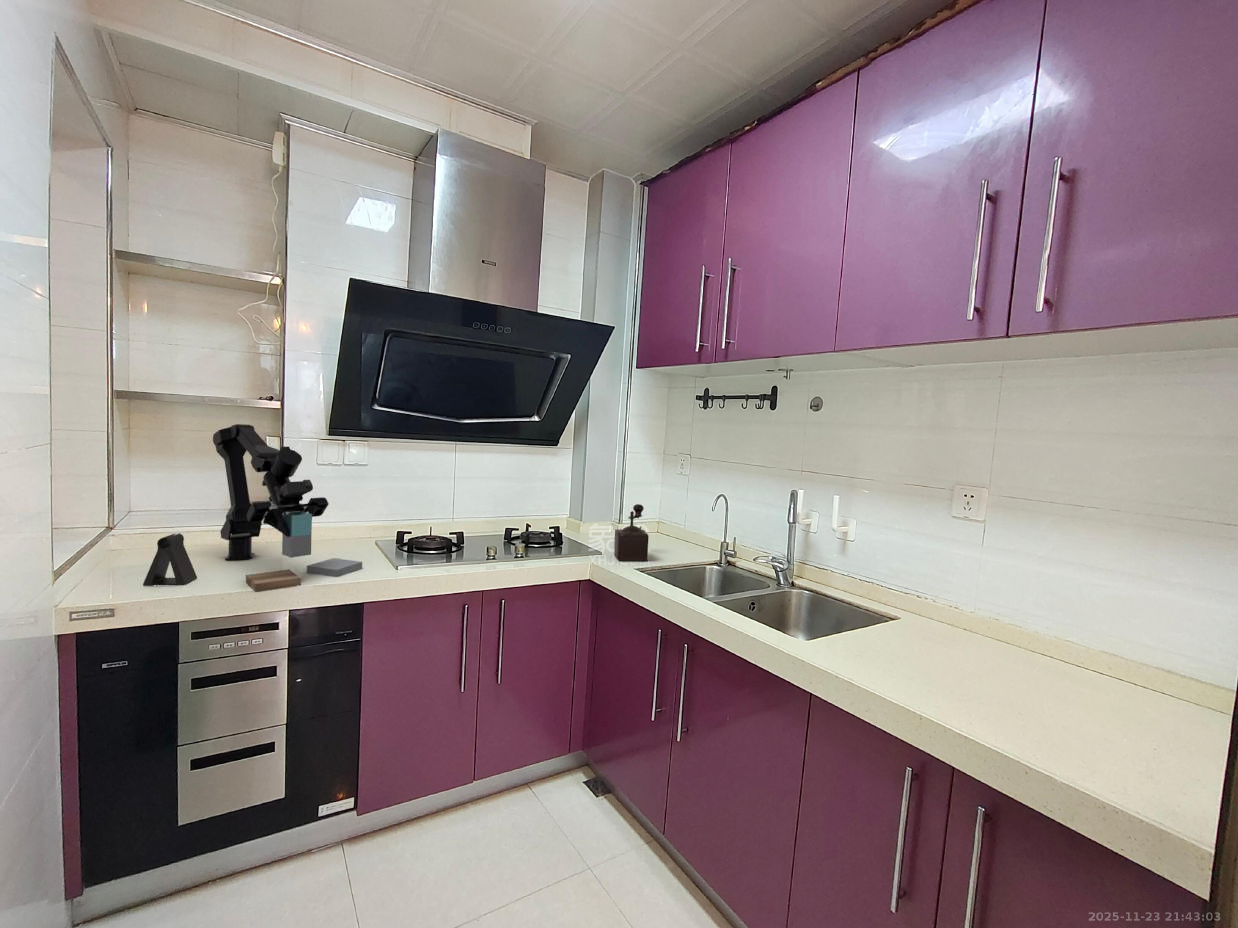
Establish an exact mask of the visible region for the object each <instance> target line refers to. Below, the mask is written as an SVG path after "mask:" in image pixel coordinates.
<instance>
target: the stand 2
mask: <svg viewBox="0 0 1238 928" xmlns="http://www.w3.org/2000/svg"><path fill="white" fill-rule="evenodd" d="M361 569H363V561H359V560H353V559H352V560H351V559H343V558H335V557H332V558H329V559H326V560H322V561H319V562H315V563H312V564H308V565H306V574H313V575H319V576H320V575H321V576H327V577H334V578H335V577H336V578H337V577H341V576H345V575H347V574H350V573H353V572H356V571H359V570H361Z"/></svg>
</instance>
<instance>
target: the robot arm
mask: <svg viewBox="0 0 1238 928" xmlns="http://www.w3.org/2000/svg"><path fill="white" fill-rule="evenodd" d="M212 442H213V445H214V447H215V449H216V453H217V454H218V455H219V456H220V457H221V458H222V459H223V461H224V465H225V474H226V480H227V481H226V482H227V488H228V495H229V501H230V502H229V503H230V508H229V509H228V511H227V513H226V515H225V521H224V524H222V525H223V526H222V527H221V529H220V531H219V532H220V538H221V539H223V540H225V541H228V555H227V556H226V557H225V558H224V560H225V561H235V560H236V561H237V560H252V559H253V557H254V556H255V552H253V551H252V549H253V546H252V545H253V544H252V540H253V539H252V538H254V537H255V538H258V537H260V534H261V529H262V524H264V525H269V526H271V527H272V528H273V529H276V530H277V531H278V532H279V533H281V534H282V533H283V534H284V535H285V536H287V537H289V536H290V532H289V529H288V527H287V524H286V522H285V520H284V518H283V513H286V512H289V513H291V512H302V511H303V512H309V513H310V514H312V518H313V517H320V516H322V515H323V514H324V513H325V511H326V509H327V508H328V506H329V505H330V504H329V502H328V499H327V498H326V497H324V496H321V497H311V498H310V499H309V500H308V501H307V503H300V502H302V501H303V499H304V497H303V496H304V495H306V494H308V493H310V492H312V491H313V490H314V486H313V483H312V481H311V479H302V480H300V481H298V480H297V481H291V480H290V478H291V477H293V476H294V475H295V473H297V472H296V471H297V470H298V468H299V466H300V464H301V462H302V461H303V458H302V455H301V454H300V453H298V452H297V450H293V449H291V448H290V446H281V447H280V449H278V448H274V447H273V446H269V445H268V444H267V443H266V442H265V440H263V438H262V437H261V436H260V435H259V434H258V433H257V432H256V430H255V426H253V425H251V424H239V423H238V424H237V423H236V424H232V425H231V426H229V427H225V428H221V429H218V430H217V431H216V432H215V433H213V436H212ZM246 452H247V453H248V455H250V456H251V460H250V465H251V467H252V469H254V470H255V472H256V473H264V476H263V478H262V479H263V480H262V482H261V486H262V487H266V488H267V490H268V491H267V492H268V494H269V497H268V500H266V501H264V500H263V501H253V502H252V503H251V500H250V494H249V488H248V480H247V474H246V472H247V471H246V467H245V459H244V456H245V454H246ZM271 502H272V503H271Z"/></svg>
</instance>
